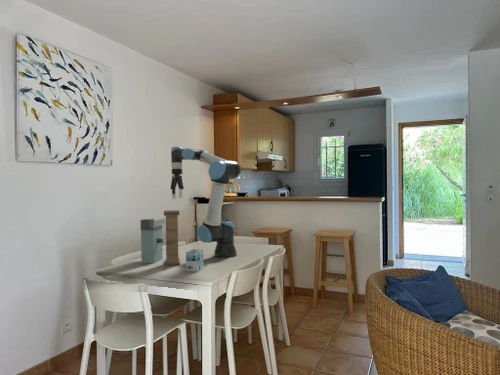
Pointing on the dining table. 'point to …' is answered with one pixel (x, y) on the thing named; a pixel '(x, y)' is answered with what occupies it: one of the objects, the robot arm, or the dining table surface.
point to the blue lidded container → (151, 244)
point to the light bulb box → (194, 260)
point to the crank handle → (151, 223)
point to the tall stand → (172, 238)
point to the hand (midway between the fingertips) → (177, 198)
